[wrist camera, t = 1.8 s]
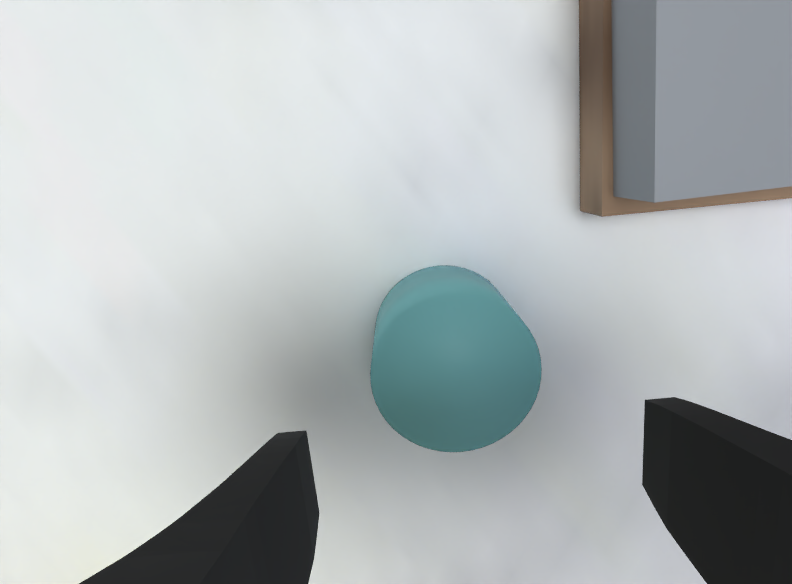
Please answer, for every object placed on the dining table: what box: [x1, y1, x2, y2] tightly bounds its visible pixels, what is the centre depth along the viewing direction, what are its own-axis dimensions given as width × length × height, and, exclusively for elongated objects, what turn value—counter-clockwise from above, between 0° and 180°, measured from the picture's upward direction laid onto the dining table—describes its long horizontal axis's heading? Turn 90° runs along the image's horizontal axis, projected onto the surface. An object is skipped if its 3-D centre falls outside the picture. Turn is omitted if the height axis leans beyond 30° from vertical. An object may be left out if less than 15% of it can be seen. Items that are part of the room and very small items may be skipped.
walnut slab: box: [579, 0, 792, 216], centre depth 16 cm, size 8×8×2 cm
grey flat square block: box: [611, 0, 792, 203], centre depth 13 cm, size 7×7×2 cm
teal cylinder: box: [370, 265, 541, 452], centre depth 17 cm, size 5×5×4 cm
